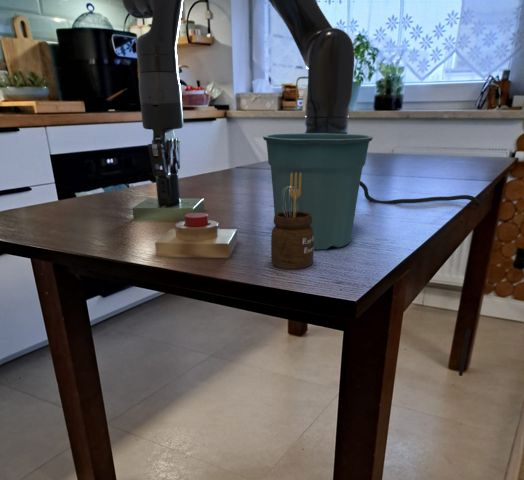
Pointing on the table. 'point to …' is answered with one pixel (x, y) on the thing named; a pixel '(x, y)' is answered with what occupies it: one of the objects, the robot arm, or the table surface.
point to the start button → (196, 220)
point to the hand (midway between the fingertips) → (169, 195)
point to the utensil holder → (292, 235)
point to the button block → (197, 241)
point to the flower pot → (319, 179)
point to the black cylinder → (174, 190)
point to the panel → (166, 210)
